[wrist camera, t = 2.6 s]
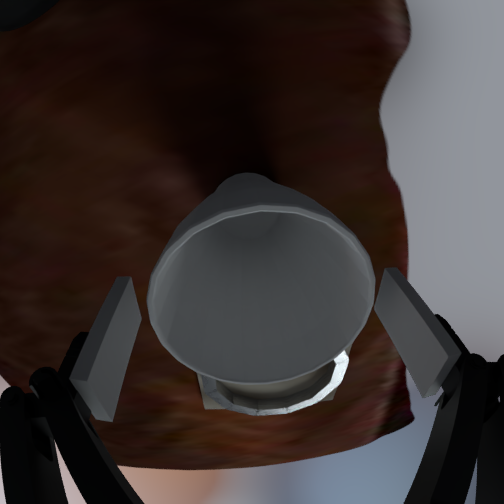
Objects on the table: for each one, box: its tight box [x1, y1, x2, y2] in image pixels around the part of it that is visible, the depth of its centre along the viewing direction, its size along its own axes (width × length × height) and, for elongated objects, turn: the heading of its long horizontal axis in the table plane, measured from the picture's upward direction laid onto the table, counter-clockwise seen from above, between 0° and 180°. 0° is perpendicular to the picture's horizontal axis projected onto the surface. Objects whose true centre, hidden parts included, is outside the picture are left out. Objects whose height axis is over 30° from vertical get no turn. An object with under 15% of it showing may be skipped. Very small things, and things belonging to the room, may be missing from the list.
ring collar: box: [201, 350, 349, 416], centre depth 32 cm, size 16×16×2 cm
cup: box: [147, 173, 375, 385], centre depth 19 cm, size 10×10×14 cm
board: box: [197, 344, 352, 409], centre depth 34 cm, size 18×18×1 cm
